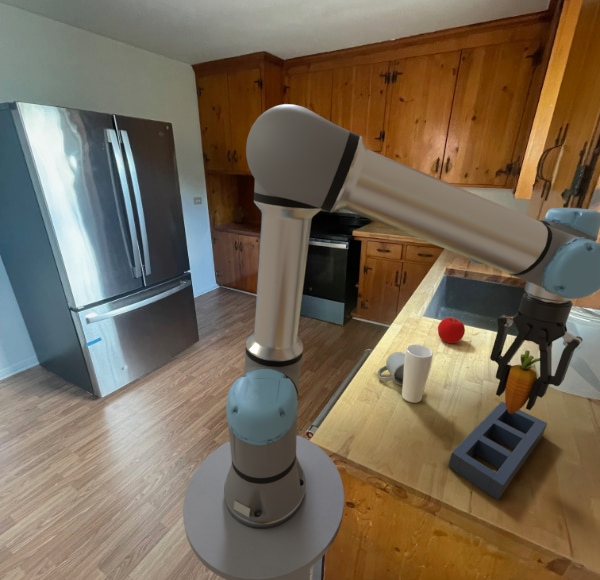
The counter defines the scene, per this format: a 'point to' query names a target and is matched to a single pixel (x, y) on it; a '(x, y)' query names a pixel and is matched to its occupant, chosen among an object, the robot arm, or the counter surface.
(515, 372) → the carrot
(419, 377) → the drinking glass
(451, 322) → the fruit
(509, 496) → the counter surface
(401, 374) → the ceramic mug
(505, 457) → the block with rectangular holes
